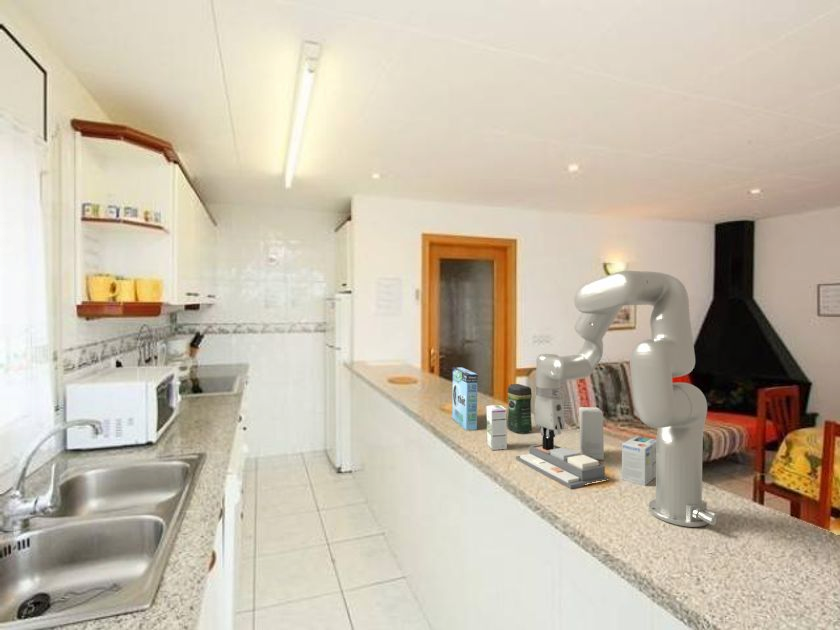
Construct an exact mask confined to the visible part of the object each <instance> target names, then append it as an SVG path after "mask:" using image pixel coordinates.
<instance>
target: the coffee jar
mask: <svg viewBox="0 0 840 630" xmlns="http://www.w3.org/2000/svg"><path fill="white" fill-rule="evenodd" d="M507 388H508V389H507V397H508V410H507V411H508V413H507V429H509V431H512V432H514V433H516V434H520V433H521V434H528V433H531V432H532V429H533V428H532V424H533V423H532V409H531V408H532V406H531V402H532V396H533V395H532V388H531V387H530V386H527V385H523V384H520V383H511V384H509V386H508V387H507Z"/></svg>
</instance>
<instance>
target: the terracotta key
mask: <svg viewBox="0 0 840 630" xmlns="http://www.w3.org/2000/svg"><path fill="white" fill-rule="evenodd" d="M535 448H537V449H539V450H542V451H544V452H546V453H549V452H550V450H552V449H550V450H545V449H543V446H540V447H535ZM553 449H558V448H555V447H554V448H553Z"/></svg>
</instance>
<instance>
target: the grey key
mask: <svg viewBox="0 0 840 630" xmlns="http://www.w3.org/2000/svg"><path fill="white" fill-rule="evenodd" d="M550 455H552V456H555V457H557V458H559V459H561V460H563V461H565V460H568V457H573V456H578V455H580V452H579V451H576V450H573V449H571V448H568V447H567V446H563V447H561V448H558V449H552V450H550Z"/></svg>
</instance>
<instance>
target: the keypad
mask: <svg viewBox="0 0 840 630" xmlns="http://www.w3.org/2000/svg"><path fill="white" fill-rule="evenodd" d="M540 446H543V443H541V444H535V445H530V446H529V453H527V454H520V455H518V456H517V455H516V456H515V460H516V461H518V462H520V463H522V464H524V465H526V466H527V467H529V468H530V469H532V470H535V471H537V472H539V473H540V474H542V475H543V476H546V477H548V478H550V479H552V480H553V481H555V482H557V483H559V484H561V485H562V486H564V487H567V489H570V490H572V489H577V488H581V487H585V486H584V485H585V484H587V483H592V482H596V481H602V480H607V479H609V480H610V477H609V476H607V475H606V466H605V465H603V464H600V463H599V465H598V466H597V467H592V468H587V469H580V468H578V467H576V466H574V465H572V464H570V463H568V460H565V461H563V460H561V459H559V458H557V457H555V456H552V455H550V452H549V453H546V452H544V451H542V450H539V449H537V448H535V447H540ZM554 447H555V448H562V447H561V446H558V445H556V444H554Z"/></svg>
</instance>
